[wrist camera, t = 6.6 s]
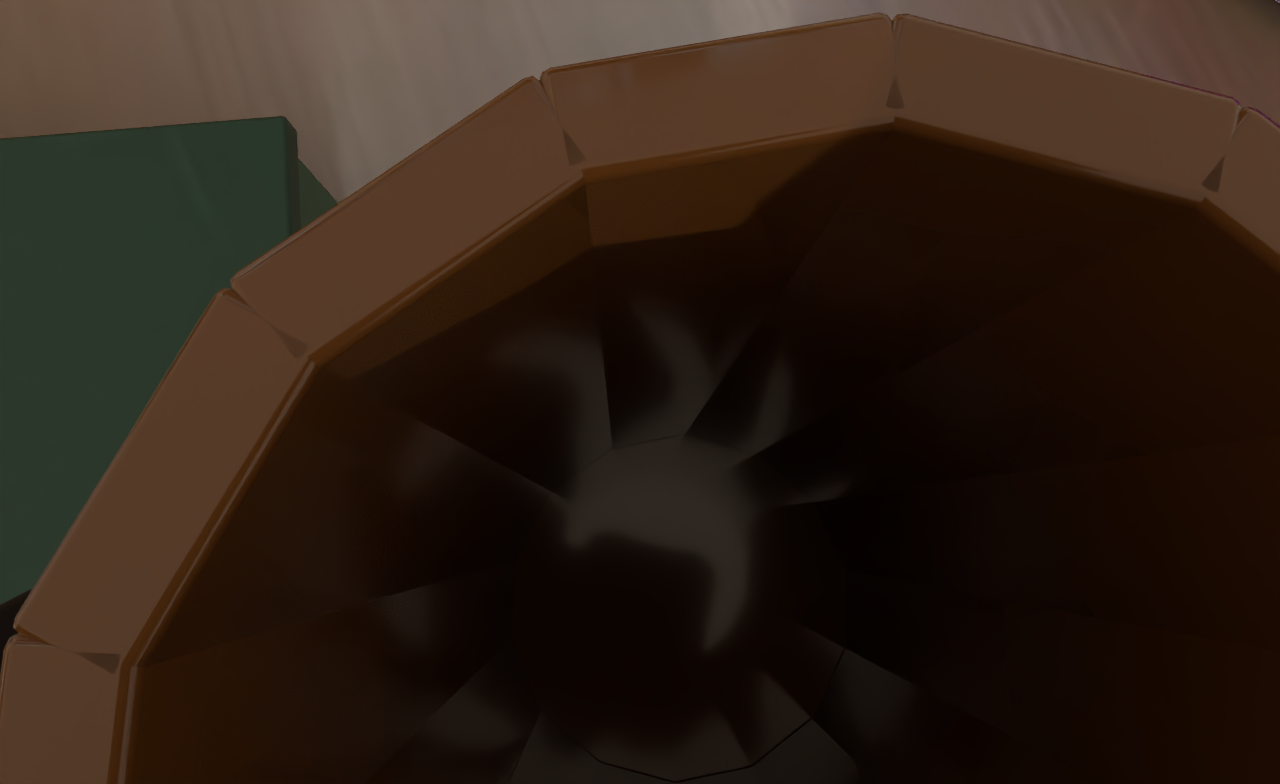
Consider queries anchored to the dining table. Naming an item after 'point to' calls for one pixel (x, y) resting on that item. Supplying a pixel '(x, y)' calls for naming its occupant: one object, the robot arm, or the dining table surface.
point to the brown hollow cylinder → (714, 447)
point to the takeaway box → (116, 292)
